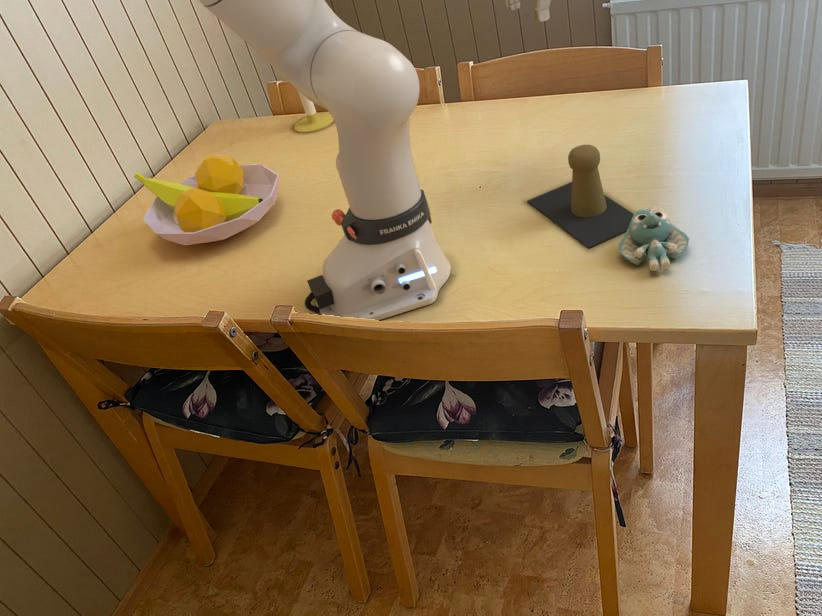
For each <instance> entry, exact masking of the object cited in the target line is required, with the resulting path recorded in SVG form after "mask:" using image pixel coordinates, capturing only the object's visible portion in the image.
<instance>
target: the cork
mask: <svg viewBox="0 0 822 616" xmlns="http://www.w3.org/2000/svg"><path fill="white" fill-rule="evenodd" d="M567 161H568V165H569V168H570V169H571V170H572V174H571V175H572V176H571V182H572V200H571V212H572V213H573V214H574V215H575V216H578V217H584V218H588V217H594V216H597V215H599V214H601V213H603V212H604V211H605V210H606V208H607V206H606V201H605V197H604V195H605V192H604V188H603V184H602V179H601V176H600V171H599V165H600V162H601V153H600V150H599V149H598V148H597V147H596V146H594V145H592V144H581V145H577V146H575V147H573V148H571V150H570V151H569V154H568V155H567Z"/></svg>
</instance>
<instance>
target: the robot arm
mask: <svg viewBox="0 0 822 616" xmlns="http://www.w3.org/2000/svg"><path fill="white" fill-rule="evenodd" d="M196 1H197V2H199V4H200V5H201V6H203V7H204V8H205V9H206V10H208V11H209V12H210V13H211V14H213V15H214V16H215V17H216V18H217V19H218V20H219V21H221V22H222V23H223V24H224V25H225V26H227V28H229V29H230V30H231V31H232V32H233V33H235V34H236V35H237V36H238V37H240V38H241V39H242V40H243V41H244V42H246V43H247V44H248V45H249V46H251V48H252V49H254V50H255V52H257V53H258V54H259V55H260V56H261V57H262V58H263V59H264V60H265V61H266V62H267V63H268V64H269V65H270V66H271V67H272V68H273V69H274V70H275V71H277V73H278V74H280V76H281V77H283V79H285V80H286V81H287V82H288V83H289V84H290V85H291V86H292V87H293V88H295V89H296V90H297V92H298V91H299V92H300V93H302V94H303V95H304V96H305V97H306V98H307V99H308V100H310V101H311V102H313V104H314V105H316V106H319V107H321V108H323V109H324V110H326V111H327V113H329V114H331V116H332V118H333V119H334V124H335V127H336V132H337V140H338V154H337V155H336V159H335V168H336V170H337V173H338V177H339V180H340V182H341V185H342V188H343V191H344V194H345V197H346V200H347V204H348V209H347V211H346V213H344V211H343V210H342V209H340V208H336V209H334V210H333V211H332V214H331V219H332V221H333V222H334V223H335V224H336V225H337V226H341V229H342V231H343V235H342V237H341V239H340V240H339V241H338V243H337V244H336V245H335V246H334V248H332V250H331V251H330V253H329V254H328V255H327V256H326V258H325V259H324V260H323V264H322V274H321V275H317V276H315V277H312V278H310V279H308V280H307V279H306V282H307V284H308V287H309V290H310V293H309V294H308V295H307V297H305V299H304V307H305V308H306V310H308V311H310V312H312V313H315V314H320V315H321V314H325V315H334V316H340V317H354V318H365V319H375V320H378V321H381V320H384V319H388V318H391V317H393V316H397V315H400V314H403V313H406V312H409V311H413V310H416V309H419V308H422V307H425V306H429V305H431V304H433V303H435V302H436V300H437V298H438V295H439V292H440V290H441V288H442V287H443V286H444V284H445V283H446V282H447V281H448V279H449V278H450V276H451V272H452V265H451V263H450V260H449V259H448V258H447V257H446V255H445V253H444V251H443V250H442V247H441V246H440V244H439V241H438V239H437V235H436V233H435V231H434V229H433V226H432V222H433V221H432V216H431V214H432V213H431V209H430V206H429V202H428V199H427V196H426V194H425V191H424V189H421V186H420V181H419V177H418V174H417V173H418V172H417V169H416V165H415V161H414V157H413V151H412V146H411V138H410V121H411V116H412V114H413V113H414V111H415V109H416V107H417V105H418V102H419V97H420V91H421V89H420V88H421V87H420V80H419V79H420V78H419V75H418V72H417V70H416V68H415V67H414V65H413V63H412V62H411V61H410V60H409V59H408V58H407V57H406V56H405V55H404V54H403V53H402V52H401V51H400V50H398V49H397V48H396V47H394V46H393V45H392V44H391V43H389V42H387V41H385V40H383V39H379V38H377V37H375V36H371V35H369V34H366V33H363V32H361V31H358V30H357V29H355V28H353V27H351V26H350V25H348V24H347V23H345V22H344V21H343V20H342V19H341V18H340V17H339V16H338V15H337V13H335V12H334V11H333V9H332V8H331V7H330V5H329V4H328V3H327V1H325V0H196ZM551 2H552V0H537V2H536V7H535V8H534V11H533V12H534V15H535V16H534V19H535V20H536V21H539V22H541V23H543V22H546V21H548V20H550V18H551V17H550V5H551ZM505 5H506V8H507V9H508V10H510V11H517V10H519V9H520V8H521V1H520V0H505ZM314 300H315V304H316V305H313V304H312V301H314Z"/></svg>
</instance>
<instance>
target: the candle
mask: <svg viewBox="0 0 822 616" xmlns="http://www.w3.org/2000/svg"><path fill="white" fill-rule="evenodd" d="M297 92H298V95H299V98H300V102H301V104H302V107H303V110H304V114H305V117H303V118H301V119H299V120H298V121H297V122H296V123H294V126H293V129H294V130H295V132H297V133H299V134H308V133H313V132H318V131H320V130H323V129H325V128H327V127H329V126H331V125H332V124H333V123H335V121H334V119H333V118H332V116H331V114H330V113H329V112H319V113H317V110H316V107H315V103H313V102H311V101H310V100H308V99H307V98H306V97H305V96H304V95H303V94H302V93H300V92H299V91H298V90H297Z"/></svg>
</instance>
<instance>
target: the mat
mask: <svg viewBox="0 0 822 616" xmlns="http://www.w3.org/2000/svg"><path fill="white" fill-rule="evenodd" d="M604 197H605V201H606V206H607V208H606V210H605V211H604V212H603V213H601V214H599V215H597V216H594V217H588V218H584V217H578V216H575V215H574V214H573V213H572V212H571V200H572V181H571V182H569V183H566V184H564V185H561V186H559V187H557V188H553V189H552V190H549V191H547V192H545V193H542V194H539V195H537V196H535V197H533V198H530V199H528V200H527V203H528V204H529V205H531V206H532V207H533V208H534V209H536V210H537V211H538V212H540V213H541V214H542V215H543V216H544V217H546V218H547V219H549V220H550V221H551V222H553V223H554V224H555V225H557V227H560V228H561V229H562V230H563V231H565V232H566V233H567V234H569V235H570V236H572V237H573V238H574V239H575V240H577V241H578V242H579V243H581V245H583V246H584V247H586V248H587V249H589V250H590V249H592V248H594V247H596V246H598V245H601V244H603V243H605V242H608V241H609V240H612V239H614V238H616V237H619V236H621V235H623V234H625V233H626V231H627V230H628V228H629V225H630V222H631V220H632V217H633V215H634V213H633V212H631V211H630V210H629V209H627V208H625V207H624V206H622V205H621V204H619V203H618V202H616V201H615V200H613V199H612V198H610V197H609V196H607V195H605V194H604Z"/></svg>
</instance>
